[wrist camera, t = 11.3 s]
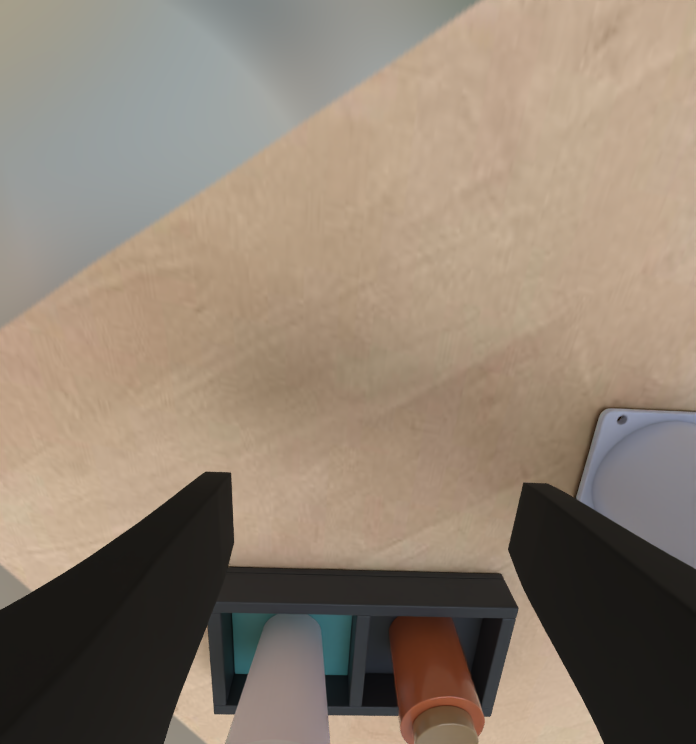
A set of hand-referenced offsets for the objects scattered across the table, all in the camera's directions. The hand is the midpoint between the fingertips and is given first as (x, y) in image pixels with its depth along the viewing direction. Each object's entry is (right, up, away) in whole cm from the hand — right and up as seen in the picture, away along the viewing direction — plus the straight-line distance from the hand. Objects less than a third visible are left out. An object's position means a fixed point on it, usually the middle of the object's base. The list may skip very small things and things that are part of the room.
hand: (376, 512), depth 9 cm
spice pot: (+4, -13, +15) cm, 20 cm away
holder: (0, -13, +15) cm, 20 cm away
